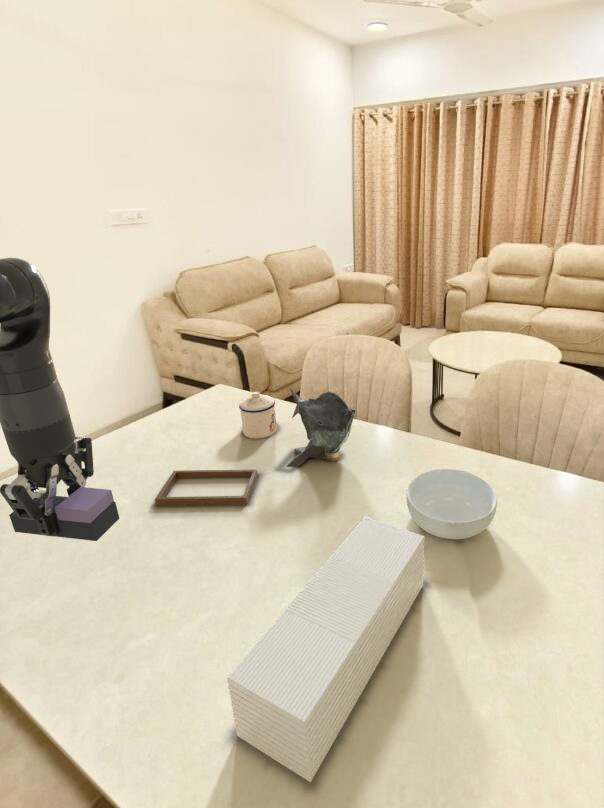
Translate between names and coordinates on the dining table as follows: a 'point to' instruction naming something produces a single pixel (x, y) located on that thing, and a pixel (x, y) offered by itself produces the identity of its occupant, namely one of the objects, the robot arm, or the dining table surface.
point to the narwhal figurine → (322, 426)
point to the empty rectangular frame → (206, 500)
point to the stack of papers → (326, 646)
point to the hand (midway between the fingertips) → (67, 521)
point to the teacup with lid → (258, 416)
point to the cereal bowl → (451, 503)
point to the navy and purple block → (77, 515)
